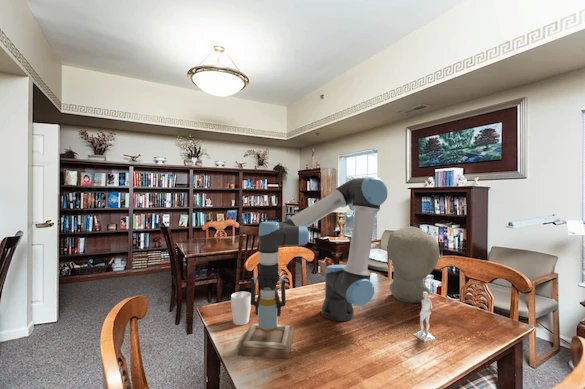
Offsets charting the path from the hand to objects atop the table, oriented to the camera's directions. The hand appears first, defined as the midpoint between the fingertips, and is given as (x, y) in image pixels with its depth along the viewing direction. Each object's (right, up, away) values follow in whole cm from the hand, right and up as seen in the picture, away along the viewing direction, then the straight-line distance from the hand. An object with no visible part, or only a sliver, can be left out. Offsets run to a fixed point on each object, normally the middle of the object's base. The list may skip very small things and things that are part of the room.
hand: (268, 323), depth 105 cm
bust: (+72, -8, +40) cm, 83 cm away
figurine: (+63, -8, +6) cm, 64 cm away
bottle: (0, -2, 0) cm, 2 cm away
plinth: (0, -7, 0) cm, 7 cm away
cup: (-13, -8, +17) cm, 23 cm away
